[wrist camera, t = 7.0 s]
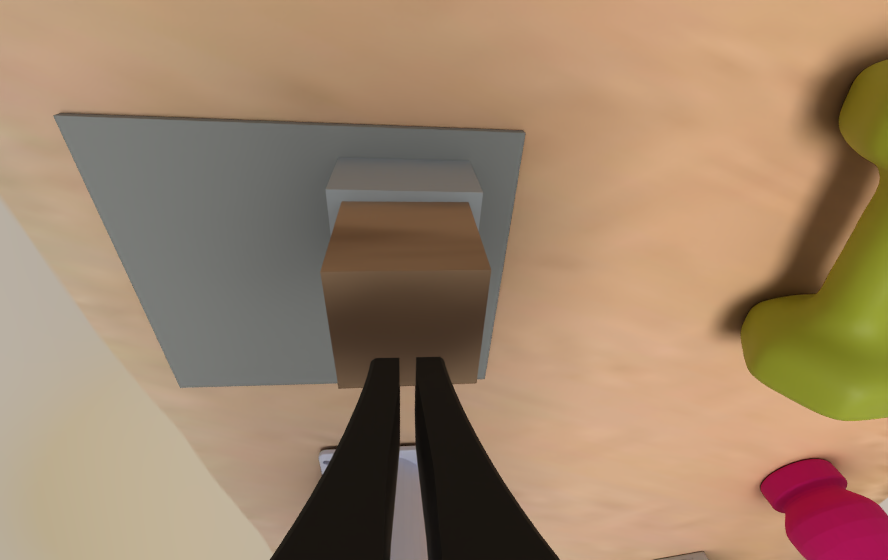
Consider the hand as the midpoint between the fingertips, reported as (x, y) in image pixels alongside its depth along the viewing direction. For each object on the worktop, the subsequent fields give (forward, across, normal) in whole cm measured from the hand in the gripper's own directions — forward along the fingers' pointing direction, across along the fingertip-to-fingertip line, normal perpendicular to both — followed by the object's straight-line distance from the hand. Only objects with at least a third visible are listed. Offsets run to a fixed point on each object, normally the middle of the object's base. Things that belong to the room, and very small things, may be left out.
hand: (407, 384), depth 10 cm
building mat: (+10, +4, +4) cm, 12 cm away
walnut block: (+6, 0, 0) cm, 6 cm away
